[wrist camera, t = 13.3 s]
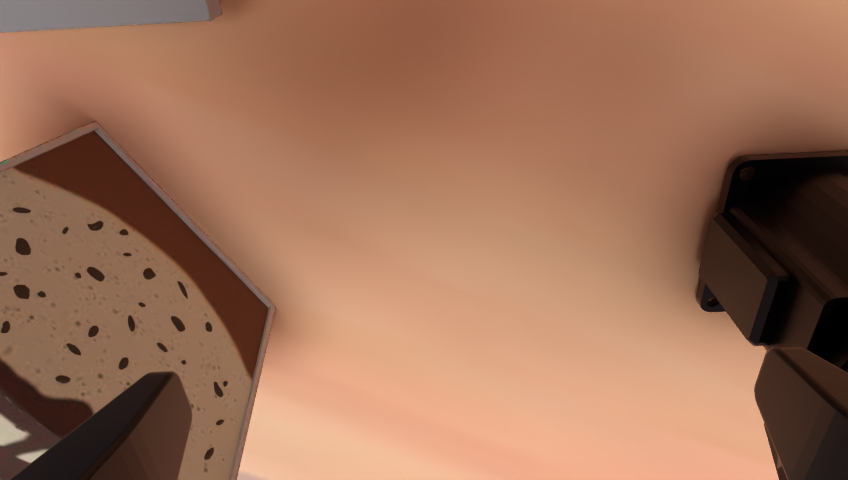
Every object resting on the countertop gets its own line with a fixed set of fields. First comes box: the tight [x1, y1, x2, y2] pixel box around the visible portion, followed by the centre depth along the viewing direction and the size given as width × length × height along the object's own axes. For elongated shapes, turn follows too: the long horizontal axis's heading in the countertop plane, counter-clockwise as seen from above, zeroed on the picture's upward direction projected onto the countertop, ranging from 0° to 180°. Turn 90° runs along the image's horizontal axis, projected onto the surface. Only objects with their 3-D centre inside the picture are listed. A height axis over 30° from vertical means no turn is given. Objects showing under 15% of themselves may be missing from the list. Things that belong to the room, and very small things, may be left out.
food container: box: [0, 121, 276, 480], centre depth 18 cm, size 12×6×10 cm, turn 32°
